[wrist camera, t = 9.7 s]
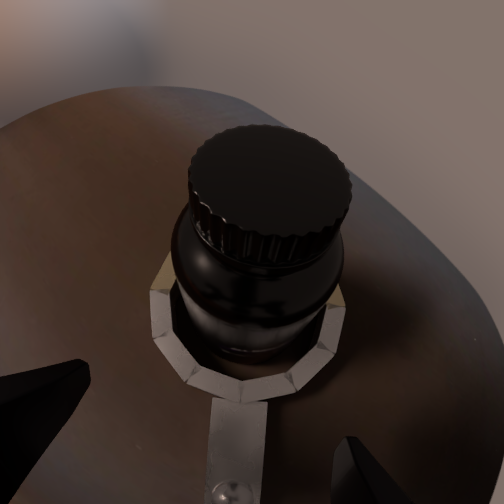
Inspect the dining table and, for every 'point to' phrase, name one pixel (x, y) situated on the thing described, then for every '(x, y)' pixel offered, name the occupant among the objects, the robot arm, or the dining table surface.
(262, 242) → the supplement bottle
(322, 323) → the segmented ring handle
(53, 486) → the dining table surface
